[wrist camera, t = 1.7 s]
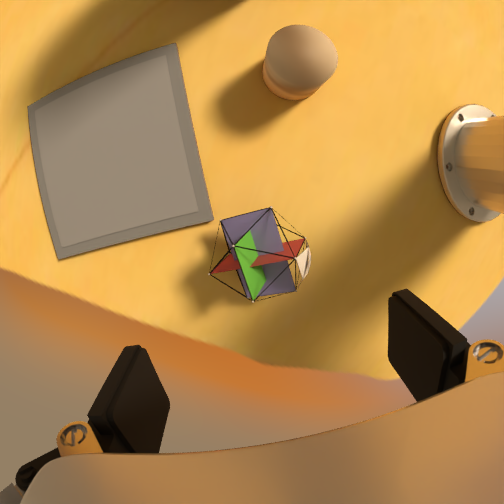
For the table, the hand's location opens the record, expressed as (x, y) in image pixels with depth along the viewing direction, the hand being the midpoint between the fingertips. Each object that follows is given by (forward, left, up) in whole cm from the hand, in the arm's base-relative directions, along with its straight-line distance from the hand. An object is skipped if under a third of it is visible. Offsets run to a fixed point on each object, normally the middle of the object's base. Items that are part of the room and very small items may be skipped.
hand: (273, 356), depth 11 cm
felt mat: (+11, -11, -16) cm, 22 cm away
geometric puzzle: (0, 0, -16) cm, 16 cm away
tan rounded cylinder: (-6, -14, -16) cm, 22 cm away
